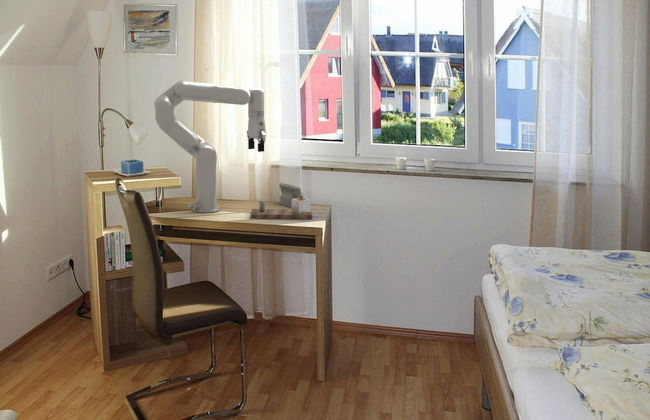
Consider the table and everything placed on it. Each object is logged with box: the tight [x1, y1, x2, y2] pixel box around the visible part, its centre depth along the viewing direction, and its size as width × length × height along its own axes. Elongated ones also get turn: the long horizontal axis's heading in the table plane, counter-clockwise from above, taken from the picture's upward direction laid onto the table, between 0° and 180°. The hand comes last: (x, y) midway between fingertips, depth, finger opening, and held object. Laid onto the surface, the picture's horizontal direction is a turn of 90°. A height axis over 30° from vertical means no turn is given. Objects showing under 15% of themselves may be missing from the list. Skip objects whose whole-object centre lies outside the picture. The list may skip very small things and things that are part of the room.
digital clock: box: [278, 182, 303, 208], centre depth 372 cm, size 16×9×11 cm, turn 27°
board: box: [250, 194, 313, 220], centre depth 348 cm, size 28×12×10 cm, turn 93°
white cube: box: [291, 197, 312, 214], centre depth 348 cm, size 6×6×6 cm
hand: (256, 150), depth 359 cm, fingers open, 9 cm apart
